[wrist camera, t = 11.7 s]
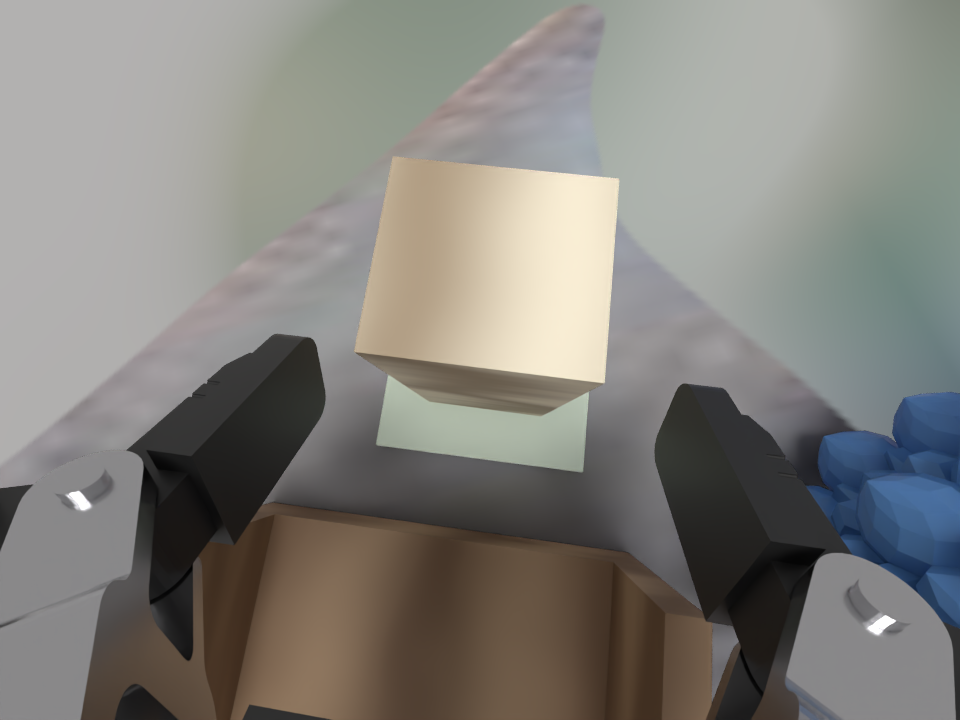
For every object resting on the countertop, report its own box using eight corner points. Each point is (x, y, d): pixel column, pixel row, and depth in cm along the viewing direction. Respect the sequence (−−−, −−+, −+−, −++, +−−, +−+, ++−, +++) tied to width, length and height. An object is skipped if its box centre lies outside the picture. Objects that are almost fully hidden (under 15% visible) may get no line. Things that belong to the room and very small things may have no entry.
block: (551, 318, 18) (619, 178, 9) (541, 416, 18) (604, 383, 8) (444, 306, 19) (392, 156, 9) (429, 401, 18) (353, 352, 8)
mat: (595, 278, 19) (597, 275, 19) (580, 471, 17) (583, 472, 17) (410, 259, 20) (408, 255, 19) (378, 445, 18) (375, 445, 18)
